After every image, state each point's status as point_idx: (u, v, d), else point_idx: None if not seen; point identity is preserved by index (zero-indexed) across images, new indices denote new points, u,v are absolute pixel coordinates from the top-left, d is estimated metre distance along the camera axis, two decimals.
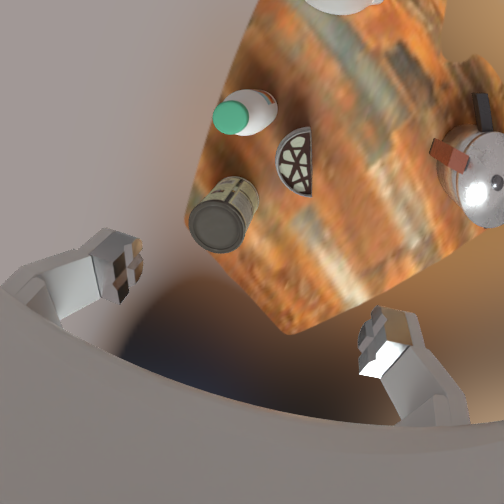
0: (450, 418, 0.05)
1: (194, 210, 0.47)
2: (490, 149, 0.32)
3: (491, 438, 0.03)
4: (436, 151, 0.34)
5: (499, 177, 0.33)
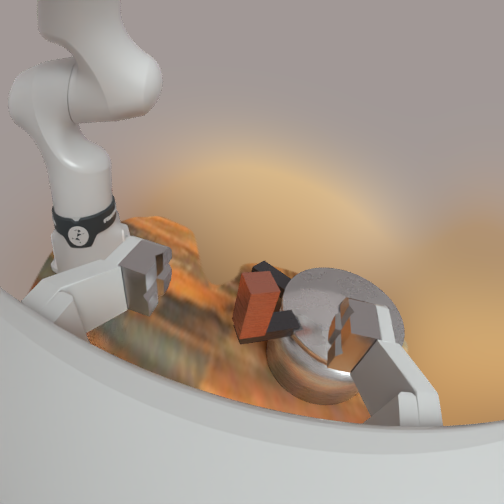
0: (418, 418, 0.05)
1: None
2: (307, 289, 0.39)
3: (491, 438, 0.03)
4: (239, 319, 0.29)
5: None
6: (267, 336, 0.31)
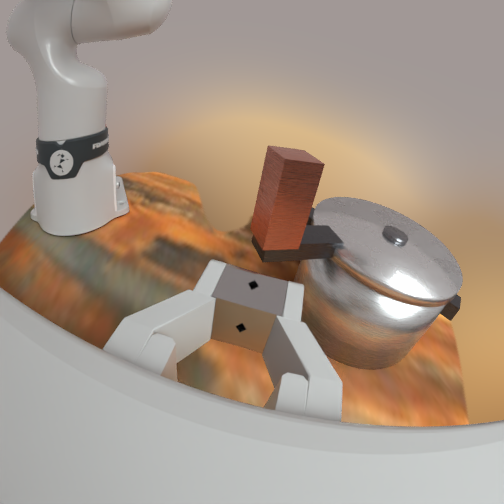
0: (305, 406, 0.05)
1: None
2: (341, 213, 0.30)
3: (491, 438, 0.03)
4: (263, 218, 0.20)
5: (388, 227, 0.28)
6: (301, 253, 0.22)
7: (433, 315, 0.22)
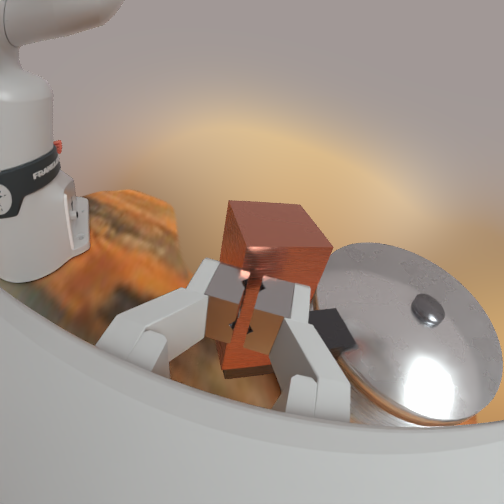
0: (314, 408, 0.05)
1: None
2: (358, 274, 0.21)
3: (491, 438, 0.03)
4: None
5: (420, 296, 0.19)
6: None
7: None
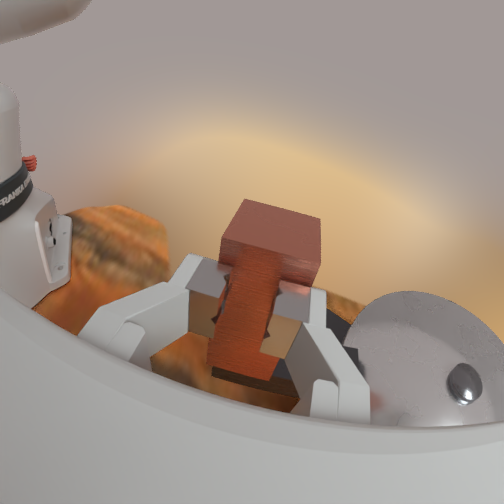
0: (336, 411, 0.05)
1: None
2: (405, 323, 0.17)
3: (491, 438, 0.03)
4: None
5: (461, 366, 0.13)
6: (276, 386, 0.12)
7: None
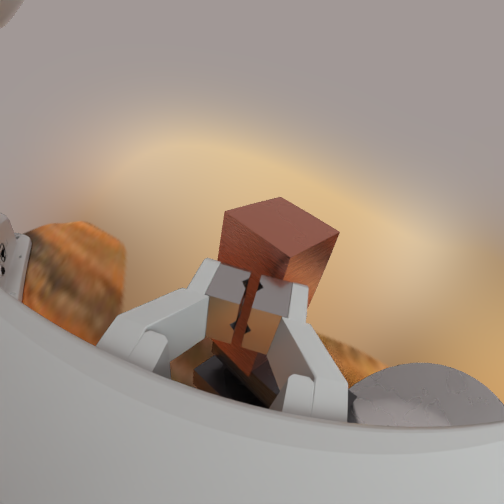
0: (311, 407, 0.05)
1: None
2: (432, 400, 0.12)
3: (491, 438, 0.03)
4: None
5: None
6: (255, 387, 0.12)
7: None
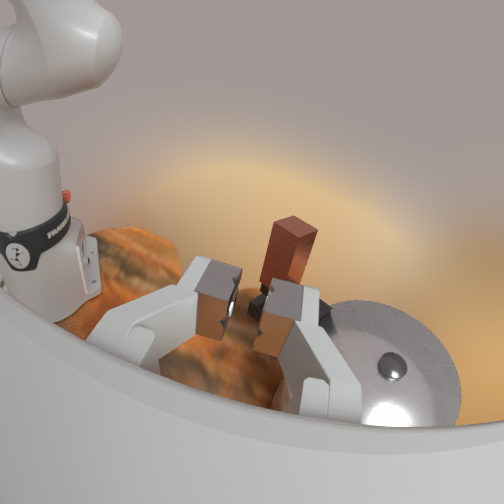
0: (327, 410, 0.05)
1: None
2: (377, 319, 0.27)
3: (491, 438, 0.03)
4: None
5: (396, 355, 0.22)
6: None
7: None
